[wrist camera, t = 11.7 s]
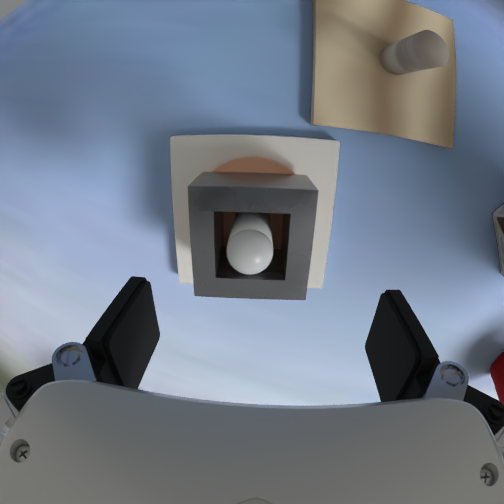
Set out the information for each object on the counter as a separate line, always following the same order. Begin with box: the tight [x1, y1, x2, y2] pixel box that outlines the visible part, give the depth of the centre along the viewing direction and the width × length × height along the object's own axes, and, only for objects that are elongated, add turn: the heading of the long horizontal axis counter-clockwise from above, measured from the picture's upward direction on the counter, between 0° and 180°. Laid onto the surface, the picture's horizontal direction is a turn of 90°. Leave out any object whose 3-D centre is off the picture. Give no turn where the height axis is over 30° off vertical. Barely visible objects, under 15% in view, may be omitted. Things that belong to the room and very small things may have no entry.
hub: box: [170, 134, 340, 288], centre depth 19 cm, size 12×12×8 cm
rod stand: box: [310, 0, 456, 149], centre depth 14 cm, size 12×12×7 cm
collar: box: [188, 172, 318, 300], centre depth 19 cm, size 7×7×4 cm
